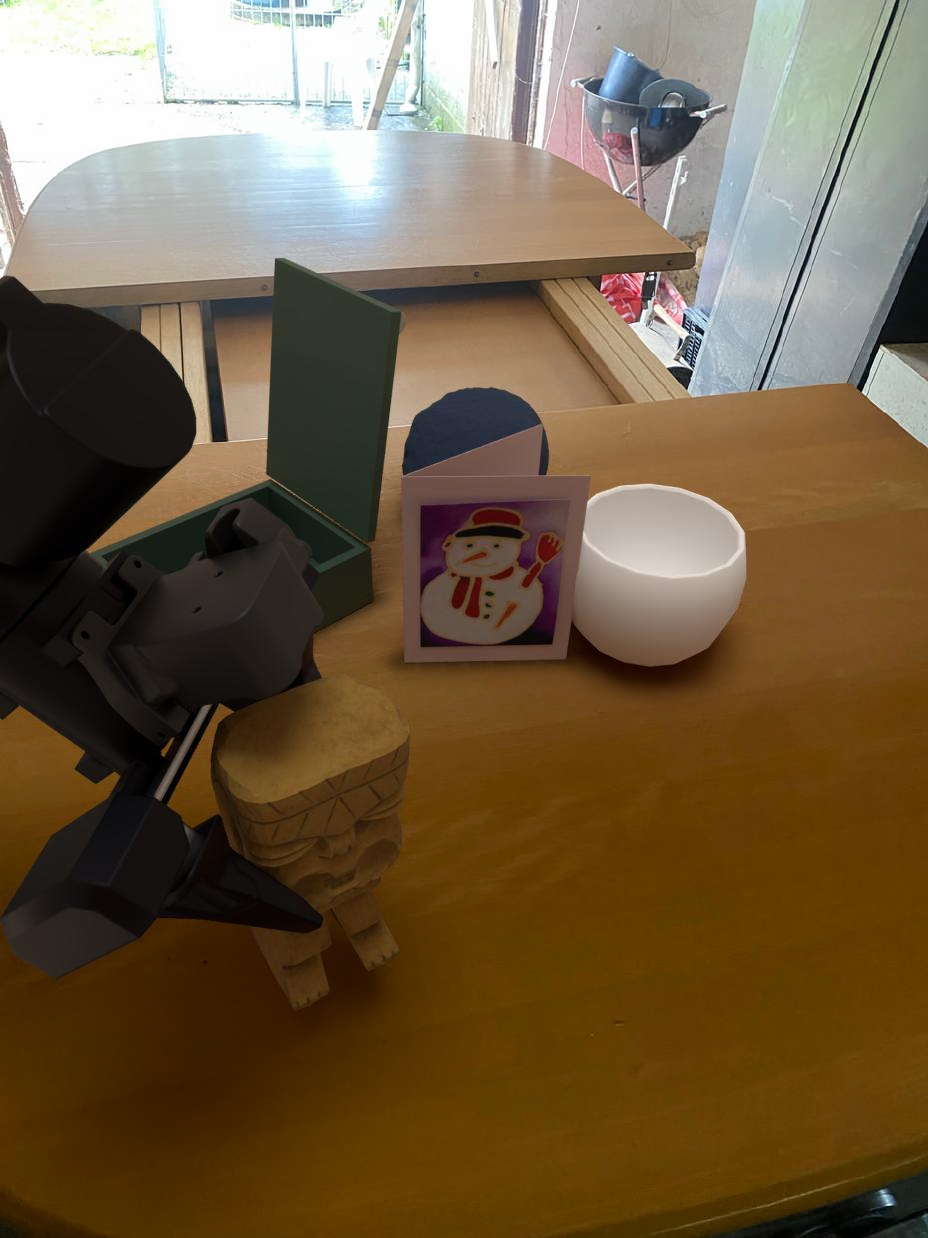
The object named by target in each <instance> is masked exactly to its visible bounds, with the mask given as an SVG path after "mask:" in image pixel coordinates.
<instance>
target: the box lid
mask: <svg viewBox="0 0 928 1238" xmlns="http://www.w3.org/2000/svg"><path fill="white" fill-rule="evenodd" d="M273 269H274V270H273V293H272V317H271V318H272V319H271V320H272V321H271V342H270V369H269V389H268V391H269V393H268V415H267V416H268V417H267V419H268V420H267V439H266V464H265V465H266V467H265V475H267V476H268V477H269V478H270V479H272V480H273V481H274V482H276V483H278V484H279V485H281V486H282V487H283V488H285V489H286V490H288V491H289V492H291V493H292V494H294V495H295V496H297V497H298V498H300V499H301V500H302V501H304V502H305V503H307V504H308V505H310V506H311V507H313V508H314V509H316V510H317V511H318V512H320V513H321V514H323V515H324V516H326V517H327V518H329V519H330V520H332V521H333V522H334V523H336V524H337V525H339V526H340V527H342V528H343V529H345V530H346V531H348V532H349V533H351V534H352V535H353V536H355V537H356V538H358V539H359V540H361V541H362V542H364V543H365V544H369V543H372V542H374V541H376V538H377V537H376V536H377V529H378V527H377V526H378V519H379V512H380V511H379V510H380V501H381V494H382V484H383V476H384V467H385V459H386V451H387V441H388V434H389V433H388V432H389V424H390V416H391V407H392V399H393V390H394V381H395V374H396V373H395V371H396V363H397V355H398V347H399V339H400V334H402V332H403V331H404V330H405V328H406V326H407V317H406V314H405V313H404V312H403V311H402V310H400V309H398V308H396V307H393V306H392V305H389V304H387V303H385V302H382V301H380V300H378V299H375V298H373V297H372V296H369V295H367V294H364V293H363V292H360V291H358V290H356V289H353V288H352V287H349V286H347V285H345V284H343V283H340V282H338V281H336V280H334V279H331V278H329V277H327V276H325V275H323V274H321V273H318V272H316V271H314V270H312V269H310V268H307V267H305V266H303V265H301V264H298V263H297V262H294V261H293V260H290V259H287V258H285V257H275V258H274V268H273Z"/></svg>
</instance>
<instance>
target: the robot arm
mask: <svg viewBox="0 0 928 1238" xmlns="http://www.w3.org/2000/svg"><path fill="white" fill-rule="evenodd" d="M196 436H197V413H196V410H195V407H194V403H193V399H192V398H191V395H190V392H189V391H188V388H187V386H186V385H185V383H184V381H183V379H182V378H181V376H180V375H179V373H178V371H177V370H176V369H175V367H174V366H173V364H172V363H171V361H169V359H167V357H166V356H165V355H164V354H163V353H162V352H161V350H159V349H158V347H157V346H156V345H155V344H154V343H152V341H151V340H149V339H148V338H147V337H146V336H145V335H143V334H142V332H140V331H138V330H137V329H133V328H131V329H129V330H128V329H126V328H125V327H123V326H122V325H120V324H119V323H117V322H116V321H114V320H113V319H111V318H108V317H106V316H104V315H102V314H100V313H98V312H96V311H94V310H92V309H88V308H84V307H81V306H77V305H74V304H70V303H59V302H43V301H42V300H41V299H40V298H39V297H38V296H37V295H35V294H34V293H33V292H32V291H31V290H30V289H29V288H28V287H26V286H25V284H23V283H22V282H21V281H20V280H19V279H18V278H16V276H14V275H3V276H2V277H0V720H2V721H3V720H5V719H6V718H7V717H8V716H10V715H11V714H12V713H13V712H14V711H15V710H17V709H18V708H19V707H20V708H22V709H23V710H25V711H26V712H28V713H30V714H31V715H32V716H33V717H35V718H37V719H38V720H40V721H41V722H42V723H43V724H45V725H46V726H48V727H49V728H51V729H52V730H53V731H55V732H57V733H58V734H59V735H61V736H62V737H64V738H65V739H66V740H68V741H70V742H71V743H72V744H73V745H75V746H77V747H78V748H79V749H81V750H82V751H84V753H83V754H82V756H81V757H80V758H79V760H78V762H77V764H76V765H75V767H74V768H73V770H74V771H76V772H77V773H78V774H80V775H82V776H83V777H84V778H86V779H87V780H89V781H90V782H92V783H93V784H95V785H97V784H98V783H100V782H101V781H103V780H105V779H106V778H108V777H109V776H111V775H113V774H114V773H115V774H117V775H118V776H119V778H118V779H117V781H116V782H115V785H114V786H113V788H112V790H111V792H110V794H109V795H108V797H107V798H105V799H104V800H102V801H101V802H100V803H98V804H96V805H94V806H93V807H92V808H91V809H88V810H87V811H86V812H84V813H83V814H81V815H80V816H78V817H76V818H75V819H74V820H72V821H71V822H69V823H67V824H66V825H65V826H63V827H62V828H60V829H59V830H57V831H55V832H54V833H53V834H51V835H50V837H49V838H48V839H47V842H46V843H45V845H44V846H43V848H42V850H41V851H40V852H39V855H38V856H37V858H36V859H35V861H34V863H33V864H32V866H31V867H30V868H29V870H28V872H27V873H26V875H25V877H24V878H23V880H22V882H21V883H20V885H19V887H18V888H17V890H16V891H15V893H14V894H13V896H12V898H11V899H10V901H9V903H8V904H7V906H6V907H5V909H4V911H3V913H2V914H1V916H0V925H1V928H2V930H3V932H4V935H5V937H6V940H7V943H8V945H9V946H10V948H11V950H12V953H13V954H14V956H15V957H17V958H19V959H20V960H22V961H24V962H25V963H27V964H29V965H31V966H33V967H35V968H36V969H37V970H39V971H41V972H43V973H45V974H47V975H48V976H50V977H52V978H54V979H55V980H58V979H61V978H62V977H64V976H67V975H69V974H71V973H74V972H75V971H77V970H79V969H81V968H83V967H85V966H87V965H89V964H91V963H93V962H95V961H98V960H99V959H102V958H103V957H105V956H108V955H110V954H111V953H114V952H117V950H120V949H122V948H124V947H126V946H128V945H130V944H131V943H134V942H136V941H138V940H140V939H141V938H142V937H143V936H144V934H146V932H147V931H148V930H149V928H151V926H152V925H153V924H154V923H155V921H156V920H157V919H168V920H169V919H171V920H172V919H173V920H174V919H176V920H178V919H180V920H182V919H183V920H199V921H207V922H208V921H209V922H217V923H225V924H232V925H237V926H238V925H239V926H245V927H250V926H252V927H260V928H267V929H274V930H282V931H289V932H296V933H310V932H312V931H314V930H317V929H319V928H321V926H322V923H323V920H324V918H323V916H322V915H321V914H320V913H319V912H318V911H316V910H315V909H314V908H313V907H312V906H311V905H310V904H309V903H308V902H307V901H306V900H305V899H303V898H302V897H301V896H300V895H298V894H297V893H295V892H294V891H292V890H291V889H289V888H288V887H287V886H285V885H284V884H282V883H281V882H279V881H278V880H276V879H275V878H274V877H272V876H271V875H269V874H268V873H266V872H265V871H263V870H262V869H261V868H259V867H258V866H256V865H255V864H253V863H252V862H250V861H249V860H248V859H246V858H245V857H243V856H242V855H240V854H239V853H237V852H236V851H235V850H233V849H232V847H231V844H230V841H229V837H228V834H227V831H226V829H225V826H224V823H223V820H222V817H221V814H220V813H216V814H214V815H213V816H211V817H209V818H207V819H205V820H204V821H202V822H200V823H199V824H197V825H195V826H193V827H192V826H191V825H188V823H186V822H184V821H183V820H184V819H183V818H182V815H181V814H180V813H178V812H177V811H175V810H174V809H172V808H171V807H170V806H168V804H169V802H170V800H171V798H172V796H173V794H174V792H175V790H176V788H177V786H178V785H179V783H180V781H181V779H182V777H183V775H184V773H185V771H186V769H187V768H188V765H189V763H190V761H191V760H192V758H193V756H194V754H195V752H196V749H197V748H198V746H199V744H200V742H201V740H202V738H203V737H204V734H205V732H207V731H206V730H207V728H208V727H209V725H210V723H211V721H212V719H213V717H214V715H215V713H216V712H217V709H218V707H219V705H222V706H223V707H225V708H227V709H229V711H231V712H233V713H234V712H236V711H238V710H240V709H242V708H245V707H247V706H250V705H252V704H254V703H257V702H259V701H262V700H264V699H267V698H269V697H272V696H275V695H278V694H281V693H284V692H286V691H288V690H291V689H293V688H296V687H298V686H301V685H304V684H307V683H310V682H313V681H316V680H318V679H321V678H323V677H322V674H321V672H320V670H319V668H318V665H317V664H316V662H315V658H314V637H315V636H314V634H315V633H314V628H317V627H319V626H320V624H321V622H322V619H323V616H324V612H323V610H322V608H321V607H320V605H319V604H318V602H317V600H316V599H315V597H314V595H313V594H312V590H313V588H314V586H315V584H316V582H317V579H318V577H319V575H320V572H319V571H317V570H316V569H315V568H314V567H313V566H312V565H311V564H310V563H308V562H309V560H310V558H311V556H312V549H311V547H310V545H309V544H308V543H306V542H305V541H303V540H299V539H297V538H296V536H295V535H294V533H293V531H292V530H291V528H290V527H289V526H288V525H287V524H286V523H285V522H283V521H282V520H281V519H279V518H278V517H277V516H275V515H274V514H273V513H271V512H270V511H269V510H267V509H266V508H265V507H263V506H262V505H261V504H259V503H258V502H257V501H255V500H254V499H252V498H248V499H245V500H242V501H239V502H235V503H232V504H229V505H225V506H224V507H222V508H221V509H220V511H219V512H218V514H217V515H216V517H215V518H214V520H213V521H212V523H211V524H210V526H209V527H208V529H207V530H206V532H205V545H206V553H207V556H206V554H205V553H204V552H203V551H202V552H199V553H195V555H194V556H193V558H192V559H191V561H190V562H189V564H188V565H187V567H185V568H184V569H182V570H180V571H177V572H174V573H171V574H168V575H167V574H165V573H163V572H161V571H159V570H157V569H155V568H154V567H153V566H151V565H150V564H149V563H148V562H146V561H145V560H144V559H143V558H141V557H140V556H138V555H131V556H130V555H129V554H128V553H127V552H125V551H124V550H123V549H122V550H121V551H120V552H119V553H118V554H117V555H116V556H115V557H114V558H113V559H112V560H110V561H109V562H108V563H107V564H106V565H104V564H102V563H101V562H100V561H99V560H98V559H96V558H95V557H94V556H93V555H91V554H90V553H91V552H89V551H88V549H90V548H91V547H92V546H93V545H94V544H95V543H96V542H97V541H98V540H99V539H100V538H101V537H102V536H103V535H105V533H107V532H108V531H109V530H110V529H111V528H112V527H113V526H114V525H115V524H116V523H117V522H118V521H119V520H121V518H123V517H124V516H125V514H127V512H129V511H130V510H131V509H132V508H133V507H134V506H135V505H136V504H137V503H138V502H139V501H140V500H142V498H143V497H144V496H145V495H147V494H148V493H149V492H150V491H151V490H152V489H153V488H154V487H155V486H156V485H158V483H159V482H160V481H161V480H162V479H163V478H165V476H166V475H167V474H168V473H170V472H171V471H172V470H173V469H174V468H175V467H176V466H177V465H178V464H179V463H180V462H181V461H182V460H183V459H184V458H186V456H188V454H189V453H190V452H191V450H192V449H193V446H194V443H195V440H196ZM172 739H173V740H172ZM171 740H172V741H171ZM170 742H171V744H170V746H169V747H168V749H167V751H166V753H165V755H164V756H163V752H162V751H163V750H164V749H165V748H166V747H167V746H168V745H169V743H170Z"/></svg>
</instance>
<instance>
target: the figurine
mask: <svg viewBox="0 0 928 1238" xmlns="http://www.w3.org/2000/svg"><path fill="white" fill-rule="evenodd" d="M410 741H411V729H410V723H409V722H408V720H407V719H406V717H405V716H404V715H403V714H402V713H401V711H400V710H399V709H398V707H396V705H395V704H394V702H393V701H392V698H390V696H389V695H388V694H387V693H385V692H383V691H382V690H381V689H378V688H376V687H372V686H368V685H366V684H364V683H363V682H362V681H360V680H359V679H357V678H355V677H354V676H351V675H348V674H344V673H337V674H332V675H327V676H325V677H322V678H321V679H318V680H316V681H313V682H310V683H307V684H304V685H301V686H298V687H296V688H293V689H291V690H288V691H286V692H284V693H281V694H278V695H275V696H272V697H269V698H267V699H264V700H262V701H259V702H257V703H254V704H252V705H250V706H247V707H245V708H242V709H240V710H238V711H236V712H234V711H233V712H232V713H230V714H228V715H226V716H224V718H222V719H221V720H220V721H219V722H218V723H217V727H216V730H215V733H214V736H213V742H212V747H211V754H210V780H211V785H212V789H213V793H214V797H215V802H216V804H217V807H218V810H219V814H220V816H221V817H222V820H223V824H224V827H225V830H226V834H227V837H228V840H229V844H230V846H231V847H232V849H233V850H235V851H236V852H237V853H239V854H240V855H242V856H243V857H245V858H246V859H248V860H249V861H250V862H252V863H253V864H255V865H256V866H258V867H259V868H261V869H262V870H263V871H265V872H266V873H268V874H269V875H271V876H272V877H274V878H275V879H276V880H278V881H279V882H281V883H282V884H284V885H285V886H287V887H288V888H289V889H291V890H292V891H294V892H295V893H297V894H298V895H300V896H301V897H302V898H303V899H305V900H306V901H307V902H308V903H309V904H310V905H311V906H312V907H313V908H314V909H315V910H316V911H318V912H319V913H320V914H321V915H322V916H323V918H324V920H323V923H322V926H321V928H319V929H317V930H314V931H312V932H310V933H296V932H289V931H282V930H274V929H267V928H260V927H252V926H249V927H250V930H251V934H252V936H253V938H254V940H255V942H256V944H257V946H258V948H259V950H260V952H261V954H262V955H263V958H264V959H265V961H266V963H267V965H268V967H269V969H270V970H271V973H272V974H273V976H274V977H275V979H276V981H277V983H278V985H279V986H280V988H281V990H282V992H283V993H284V995H285V996H286V999H287V1000H288V1002H289V1003H290V1006H291V1009H293V1012H297V1011H299V1010H302V1009H304V1008H306V1007H308V1006H310V1005H313V1003H315V1002H317V1001H319V1000H320V999H321V998H323V997H324V996H326V995H328V994H329V992H330V986H329V981H328V978H327V975H326V972H325V967H324V964H323V959H322V953H321V952H323V951H325V950H327V949H328V948H330V947H331V946H332V937H331V932H330V931H331V930H330V924H329V920H328V913H327V912H328V911H330V912H331V914H332V916H333V918H334V919H335V921H336V923H337V925H338V926H339V927H340V929H341V931H342V932H343V934H344V936H345V937H346V938H347V940H348V942H349V944H350V945H351V946H352V948H353V950H354V951H355V953H356V954H357V956H358V957H359V959H360V961H361V962H362V964H363V965H364V968H365V969H366V970H367V971H368V972H370V971H371V970H373V969H375V968H378V967H381V966H382V965H385V964H387V963H389V962H390V961H392V960H393V959H394V958H396V957H397V956H399V955H400V949H399V946H398V945H397V943H396V940H395V938H394V937H393V935H392V933H391V931H390V928H389V927H388V925H387V924H386V921H385V916H384V914H383V913H384V912H383V911H382V909H381V907H380V905H379V903H378V901H377V899H376V896H375V894H374V893H373V891H372V890H373V889H374V888H376V887H377V886H378V885H380V883H382V878H381V876H383V874H384V873H385V872H386V871H387V870H388V869H390V868H391V867H392V866H393V865H394V864H395V863H396V861H397V860H398V859H399V857H400V852H401V850H402V848H403V827H402V823H401V820H400V816H399V813H398V811H400V810H401V809H402V808H403V807H404V804H405V802H406V800H407V797H406V786H405V785H406V784H405V780H406V778H407V774H408V771H409V763H410V761H409V759H410V750H411V745H410V743H411V742H410Z"/></svg>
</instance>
